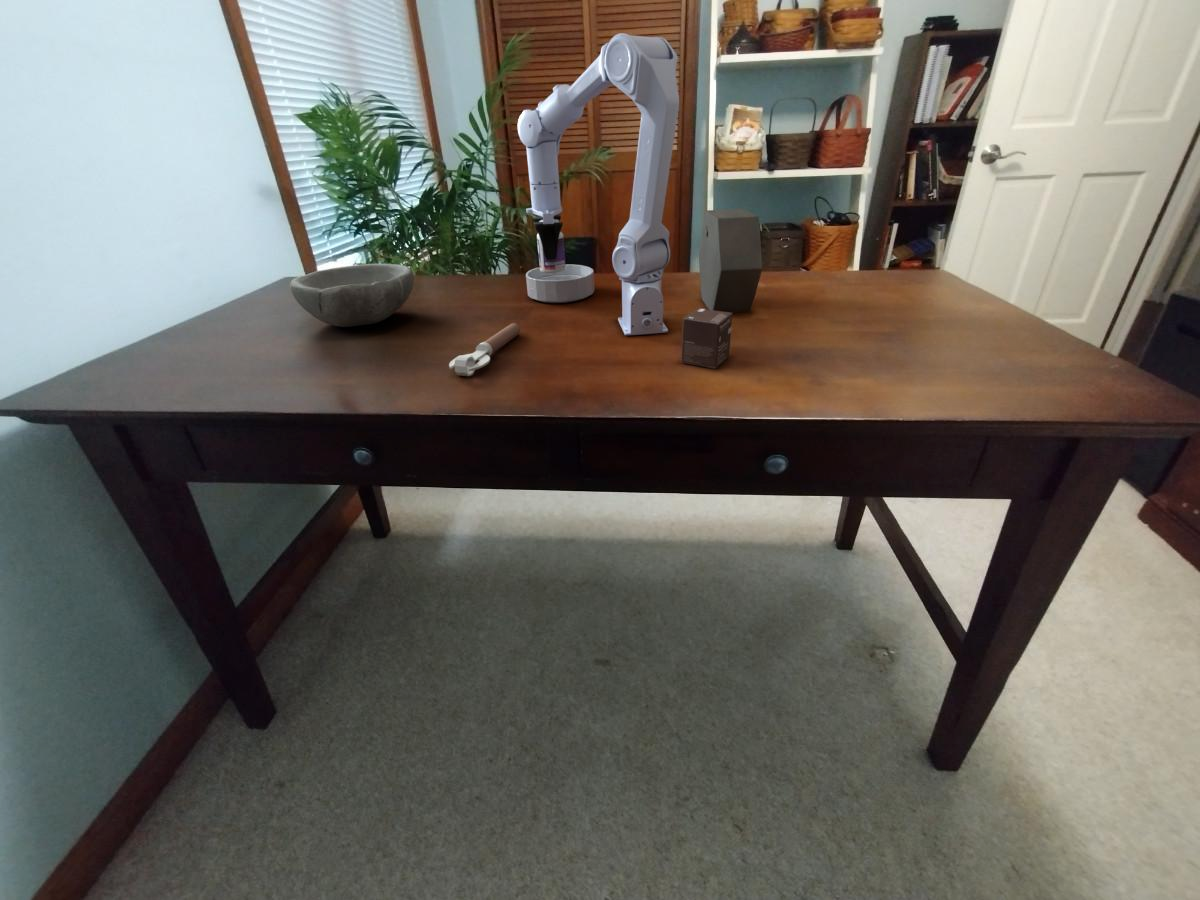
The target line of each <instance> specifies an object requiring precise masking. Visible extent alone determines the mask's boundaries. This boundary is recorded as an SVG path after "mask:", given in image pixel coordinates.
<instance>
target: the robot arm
mask: <svg viewBox="0 0 1200 900" xmlns="http://www.w3.org/2000/svg"><path fill="white" fill-rule="evenodd" d="M678 59H679V56H678V55H677V53H676V52H675V50H674V48H673V47H672V46H671V44H670V42H668V40H667V39H666V38H664V37H662V36H653V37H651V36H643V35H632V34H627V33H623V32H621V33H618V34H615V35H614V36H613V37H611V39H610V40H609V42H607V43H605V44H603V45H602V46H601V49H600V54H599V55H598V56H597V58H596V59H594V61H593V62H592V63H591V64H590V65H589V66H588V67H587V69H585V70H584V71H583V72H582V73H581V74H580V76H579V77H577V79H575V81H574V82H573V83H572V84H571V85H569V84H556V85H555V86H554V87H553V88H552V91H553V92H552V93H551V94H550V95H549V96H547V98H545V99H544V100H541V101H539V103H538V104H537V107H536V108H535V109H524V110H523V111H522V113H521V114H520V115H519V118H518V121H517V134H518V136H519V139H520V142H522V144H523V145H524V146H525V149H526V158H527V169H528V170H527V171H528V179H529V180H528V181H529V189H530V190H529V191H530V199H531V207H528V208H526V209H525V210H526V214H533V215H535V216H536V217H532V219H533V220H532V221H533V227H534V229H535V230H536V232H537V234H539V237H540V239H541V243H542V247H543V251H544V255H545V258H546V260H551V259H556V257H557V249H558V239H559V234H560V231H561V232H562V229H563V225H564V223H563V222H562V221H561V219H562V217H561V215H560V213H562V212H563V207H562V203H561V189H560V175H559V174H560V173H559V159H558V156H559V153H560V143H561V141H562V138H563V134H564V132H565V131H566V130H567V129H570V127H571V126H573V124H575V123H576V122H577V121H578V120H580V119H581V118H582V116H583V114H584V108H585V107H584V106H585V105H586V104H588V103H589V102H590V101H592V100H594V99H595V98H596V97H598V95H600V94H602V93H603V92H604V91H605V90H607V89H608V88H610V87H611V86H612V85H613V86H615V88H617V89H618V90H620V91H621V92H622V93H623V94H625V95H626V96H627V97H628V98H630V99H631V100H632V102H634V104H635V105H636V108H638V110H639V112H640V114H641V117H640V125H639V132H638V133H639V134H638V143H637V151H636V160H635V169H634V178H633V186H632V193H631V205H630V211H629V212H630V213H629V218H628V221H627V222H626V223H625V225H624V227H623V228H622V229H621V230H620V232H619V234H618V240H617V243H616V246H615V248H614V249H613V252H612V257H611V261H612V267H613V269H614V272H615V274H616V275H617V276H618V279H619V281H621V308H622V311H621V312H622V314H621V315H622V316H620V317H618V318H617V321H618V323H619V325H620V328H621V329H622V332H623V334H624V336H639V335H653V334H666V333H668V332H669V329H668V328H667V326H666V324H665V323H664V296H663V294H662V276H664V269H666V268H667V266H668V265H669V264H670V263H669V262H670V260H671V247H670V241H669V240H670V231H669V230H668V228H666V226H665V225H664V224H663V223H662V221H663V216H664V209H665V203H666V195H667V189H668V182H669V175H670V169H671V162H672V156H673V155H672V154H673V149H674V141H675V137H676V136H675V135H676V129H677V122H678V115H679V108H680V95H679V90H678V83H677V76H676V72H677V66H678ZM554 219H556V220H559V222H556V223H554ZM541 220H543V222H539V221H541Z"/></svg>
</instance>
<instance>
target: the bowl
mask: <svg viewBox="0 0 1200 900" xmlns="http://www.w3.org/2000/svg"><path fill="white" fill-rule="evenodd" d="M414 279H415V278H414V272H413V270H412V268H410V267H409V266H406V265H404V264H403V265H402V264H395V263H368V264H367V263H366V264H365V263H363V264H354V265H348V266H347V265H346V266H339V267H331V268H326V269H322V270H316V271H313V272H310V273H308V274H304V275H300V276H297V277H295V278H293V279H292V280H291V281H290V285H289V287H290V291H291V294H292V296H293V298H294V299H295V301H296V302H297V304H298V305H300V307H301V308H302V309H303V310H305V311H306V312H307V313H308V314H310V315H311V316H312V317H314V318H315V319H317V320H318V321H320V322H322V323H324V324H328V325H330V326H334V327H340V328H349V327H361V326H366V325H373V324H376V323H379V322H382V321H384V320H386V319H388V318H389V317H391V316H392V315H394V314H395V313H396V312H397V311H398V310H399V309H400V308H401V307H403V305H405V303H406V302H407V301H408V299H409V297H410V296H411V294H412V292H413V291H412V290H413V288H414V284H415V283H414Z"/></svg>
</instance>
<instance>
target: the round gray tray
mask: <svg viewBox="0 0 1200 900" xmlns="http://www.w3.org/2000/svg"><path fill="white" fill-rule="evenodd" d="M594 271H595V270H594V269H593V268H591V267H589V266H587V265H582V264H572V263H571V264H569V263H568V264H566V263H565V270H564V271H561V272H557V273H545V272H542V271H541V270H540V266H539V267H535V268H532V269H529V270H528V271H527V272H526V273H525V280H526V290H527V296H528V297H529V298H530V299H533V300H535V301H538V302H541V303H547V304H565V303H572V302H578V301H580V300H584V299H585V298H588V297H589V296H591V295H593V294H594V293H595V272H594Z"/></svg>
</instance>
